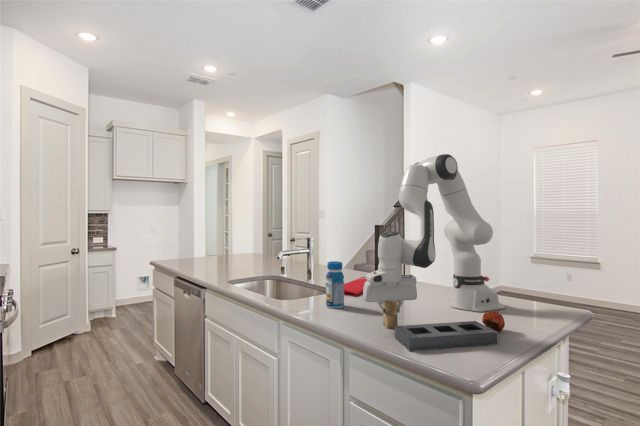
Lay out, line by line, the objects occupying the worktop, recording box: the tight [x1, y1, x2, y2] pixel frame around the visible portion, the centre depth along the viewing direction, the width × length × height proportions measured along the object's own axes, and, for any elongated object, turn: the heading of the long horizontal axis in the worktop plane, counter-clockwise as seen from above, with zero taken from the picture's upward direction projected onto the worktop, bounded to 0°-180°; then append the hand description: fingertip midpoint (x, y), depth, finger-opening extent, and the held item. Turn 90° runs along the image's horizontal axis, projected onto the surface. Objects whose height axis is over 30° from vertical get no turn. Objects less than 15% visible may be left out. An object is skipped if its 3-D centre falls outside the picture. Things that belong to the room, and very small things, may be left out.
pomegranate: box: [481, 310, 506, 333], centre depth 130 cm, size 7×7×10 cm
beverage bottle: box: [325, 261, 345, 309], centre depth 165 cm, size 8×8×20 cm
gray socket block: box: [394, 320, 499, 352], centre depth 120 cm, size 30×12×4 cm, turn 100°
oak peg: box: [382, 301, 398, 329], centre depth 136 cm, size 4×4×10 cm
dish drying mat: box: [344, 276, 367, 298], centre depth 205 cm, size 16×41×4 cm, turn 148°
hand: (390, 312), depth 136 cm, fingers closed on oak peg, 4 cm apart
